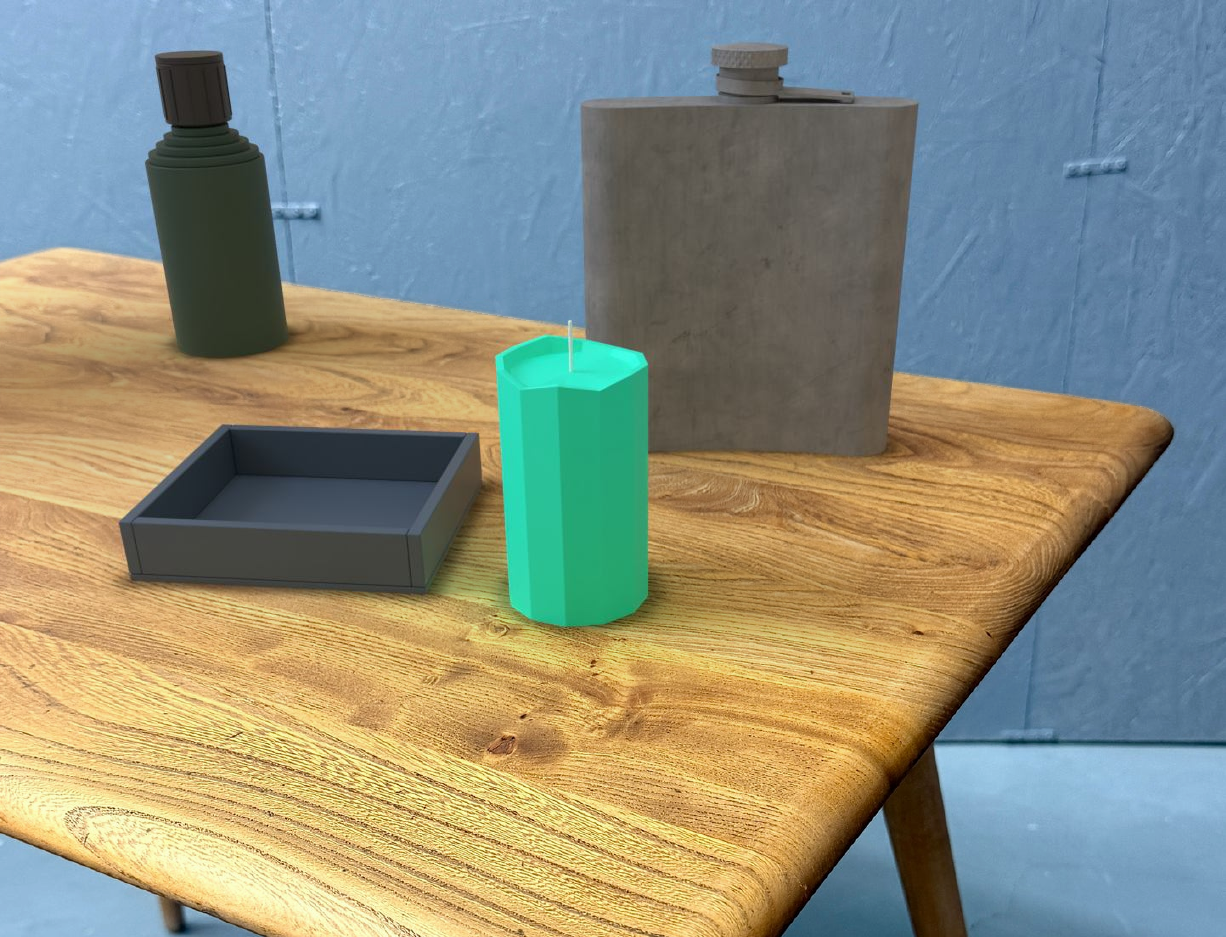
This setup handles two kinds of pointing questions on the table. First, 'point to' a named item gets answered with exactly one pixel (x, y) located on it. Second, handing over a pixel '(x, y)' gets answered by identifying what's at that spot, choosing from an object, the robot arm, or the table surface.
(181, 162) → the flask
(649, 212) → the hip flask
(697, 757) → the table surface
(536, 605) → the candle
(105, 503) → the table surface
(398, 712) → the table surface
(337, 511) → the tray
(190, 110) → the cap
